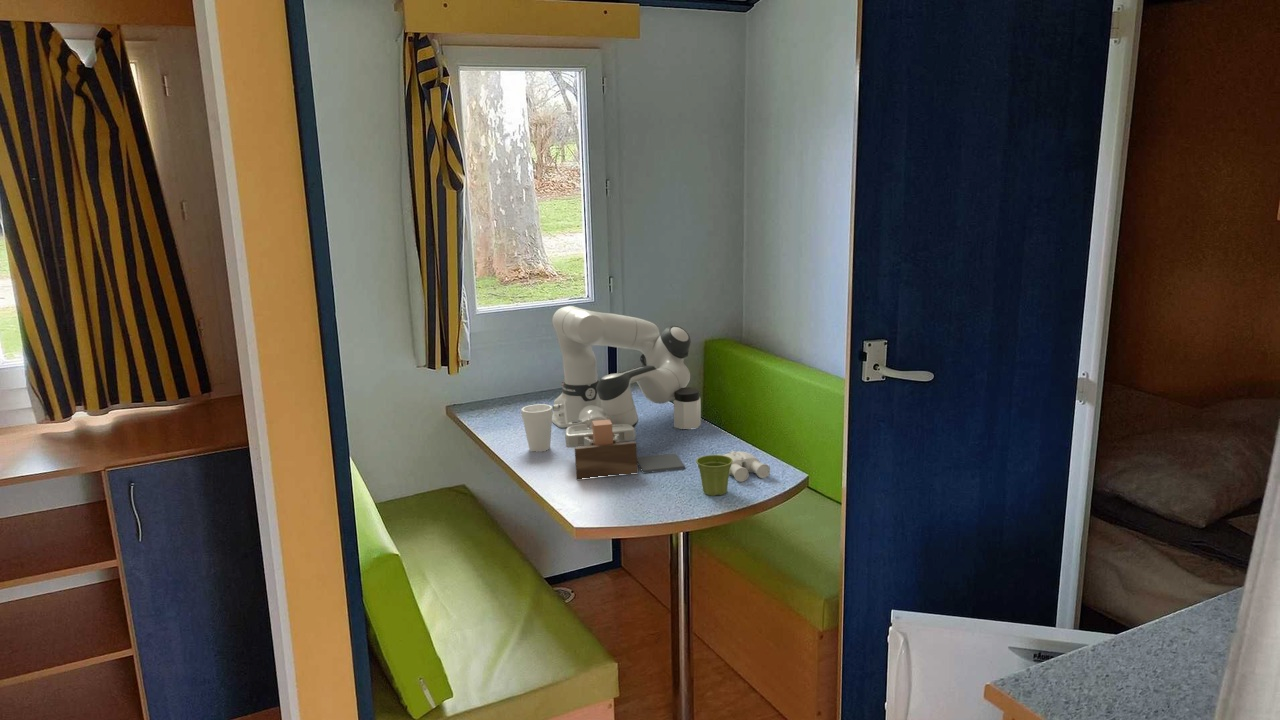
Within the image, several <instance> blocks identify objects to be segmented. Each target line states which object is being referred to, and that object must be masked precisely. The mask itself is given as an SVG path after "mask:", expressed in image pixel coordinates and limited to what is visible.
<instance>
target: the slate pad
mask: <svg viewBox="0 0 1280 720" xmlns="http://www.w3.org/2000/svg"><path fill="white" fill-rule="evenodd" d="M638 464H639V465H638ZM637 465H638V467H639V466H640V467H639V468H640V470H641V469H642V470H641V472H642V471H643V472H649V473H653V472H652V471H658V472H666V470H668V471H675V470H684V469H686V468H685V467H686V465H685V464H684V463H683V462H682V460H681V458H680V457H679V456H678V454H677V453H676V452H674V453H665V454H664V453H663V454H654V455H653V454H651V455H645V456H637ZM643 472H642V473H643Z"/></svg>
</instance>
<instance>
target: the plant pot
mask: <svg viewBox="0 0 1280 720" xmlns="http://www.w3.org/2000/svg"><path fill="white" fill-rule="evenodd" d="M732 462H733V460H732V459H731V458H730V457H727V456H722V454H721V455H718V454H707V455H703V456H699V457H698V458H697V459H696V462H695V463H696V465H697V466H698V467H697V468H698V469H699V474H700V479H701V485H702V486H701V487H702V491H703V493H704V494H705V495H708V496H717V495H719V496H722V495H725V494H726V493H727V492H728V484H729V478H730V477H729V476H730V475H729V471H730V467H731V464H732Z"/></svg>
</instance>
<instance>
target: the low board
mask: <svg viewBox="0 0 1280 720" xmlns="http://www.w3.org/2000/svg"><path fill="white" fill-rule="evenodd" d="M637 449H638V448H637V442H636V441H627V442H618V443H615V444H604V445H594V446H579V447H574V456H575V457H574V461H575V475H576V476H575V477H576V480H577V479H582V478H590V477H598V476H608V475H619V474H631V473H639V472H638V463H637V457H638V452H637Z"/></svg>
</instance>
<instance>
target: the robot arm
mask: <svg viewBox="0 0 1280 720" xmlns="http://www.w3.org/2000/svg"><path fill="white" fill-rule="evenodd" d="M552 326H553V328H554V330H555V333H556V336H557V340H558V341H557V342H558V344H559V349H560V352H561V357H562V366H563V376H564V378H563V379H564V381H563V382H561V387H562V390H561V392H562V393H561V394H560V395H558V396H557V398H555V400H554V401H553V405H551V406H552V409H553V415H552V424H554V425H555V426H556V427H558V428H561V429H562V428H566V429H565V433H564V435H565V446H566V448H575V447H584V446H594V445H595V442H594V440H593V429H592V421H597V420H608V419H610V421H611V423H612V431H613V444H615V443H625V442H634V441H636V430H635V427H636V426H637V425H638V423H639V419H640V418H639V416H638V412H637V409H636V405H635V402H634V397H633V394H632V391H631V384H634V383H636V384H638V386H639V388H640V391H641V393H642V394H643V395H644V397H645V398H646V399H648V401H650V402H652V403H654V404H666V403H668V402H670V401H672V400H674V399H675V391H677V390H679V389H681V388H687V385H688V384H689V383H690V379H691V373H690V370H689V368H688V366H686V364H684V360H685V358H687V357H688V356H689V350H690V347H691V343H692V342H691V341H692V340H691V337H690V334H689V333H688V331H686V330H685V329H684V328H682V327H680V326H677V325H669V326H668V327H666V328H665V329H664V330H663V331H662V332H661V333H660V329H659V327H658V326H657V324H655V323H654V322H652V321H649V320H646V319H643V318H639V317H634V316H628V315H623V314H617V313H611V312H609V313H608V312H599V311H593V310H588V309H584V308H581V307H577V306H573V305H567V306H563V307H560V308H559V309H557V310H556V311H555V312H554V314H553V316H552ZM592 346H602V347H604V346H605V347H612V348H619V349H626V350H634V351H635V350H636V351H639V352H641V353H642V354H641V355H640V356H639V357H640V358H639V361H640V363H641V366H637V367H632V368H630V369H627V370H623V371H619V372H616V373H614V372H613V373H610V374H609V373H608V374H606V375H604V376H603V377H601V378H600V379H599V380H598V366H597V358H596V355H595V352H594V350H593V347H592Z"/></svg>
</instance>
